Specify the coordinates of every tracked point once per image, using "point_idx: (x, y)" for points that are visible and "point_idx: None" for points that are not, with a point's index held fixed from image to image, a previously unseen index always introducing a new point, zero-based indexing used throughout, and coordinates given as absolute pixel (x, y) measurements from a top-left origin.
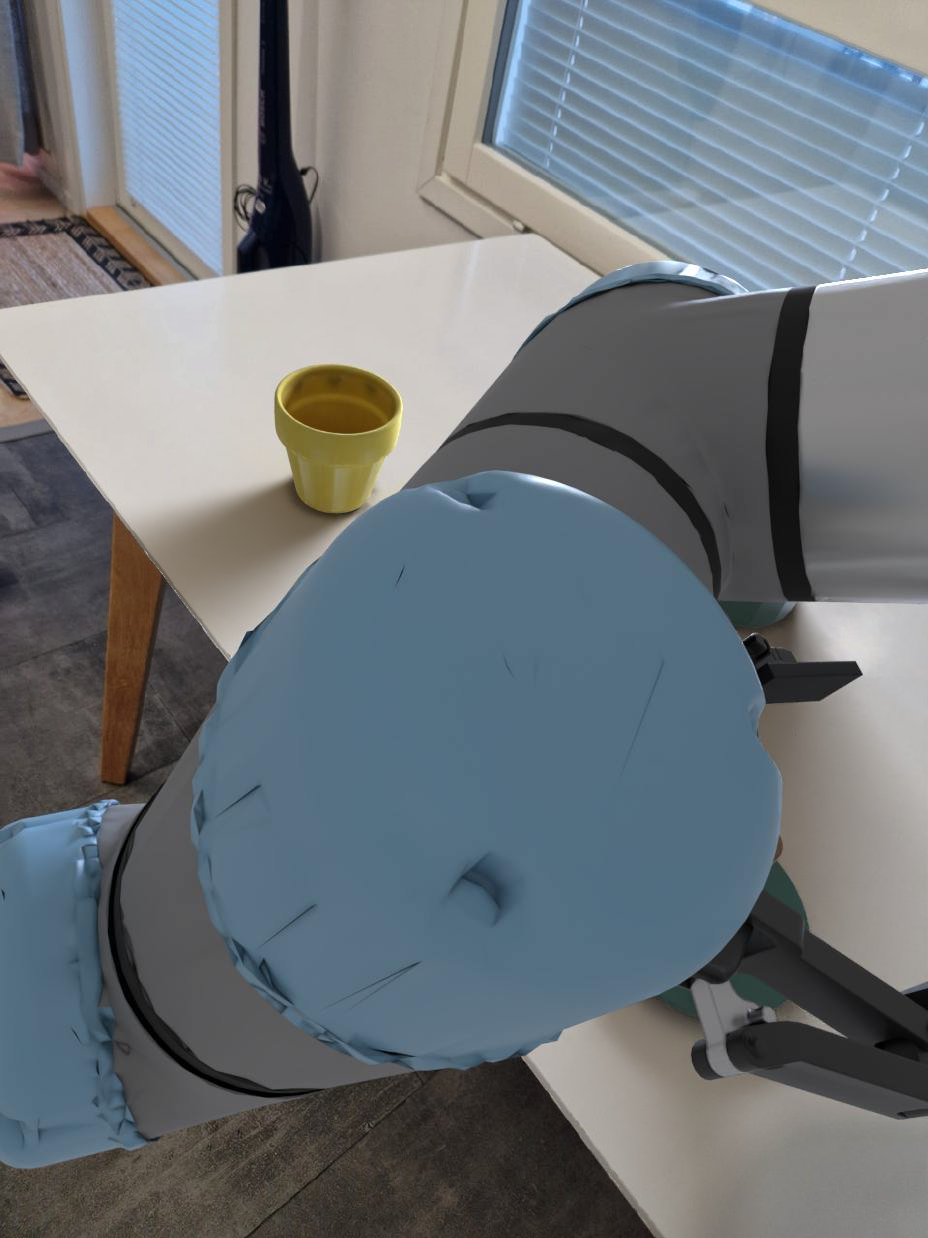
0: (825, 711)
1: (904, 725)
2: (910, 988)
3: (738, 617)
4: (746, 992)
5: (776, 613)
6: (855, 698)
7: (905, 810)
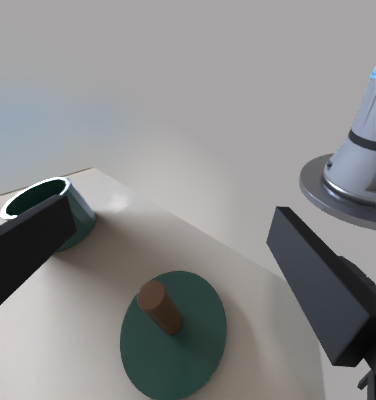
0: (130, 223)
1: (147, 203)
2: (297, 294)
3: (82, 233)
4: (214, 323)
5: (91, 220)
6: (132, 212)
7: (171, 217)
